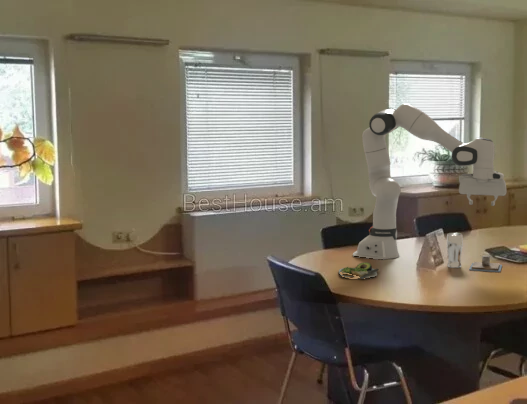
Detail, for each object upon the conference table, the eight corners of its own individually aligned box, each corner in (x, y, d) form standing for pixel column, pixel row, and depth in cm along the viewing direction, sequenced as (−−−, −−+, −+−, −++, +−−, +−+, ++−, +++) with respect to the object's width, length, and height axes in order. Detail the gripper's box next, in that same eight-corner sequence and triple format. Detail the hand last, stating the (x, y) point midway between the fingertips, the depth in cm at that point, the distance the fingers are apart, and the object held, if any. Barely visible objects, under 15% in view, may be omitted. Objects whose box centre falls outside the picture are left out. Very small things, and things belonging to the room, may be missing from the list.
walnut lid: (471, 268, 297) (471, 258, 297) (474, 263, 307) (474, 253, 307) (497, 270, 293) (498, 259, 292) (499, 265, 303) (499, 254, 302)
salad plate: (381, 282, 281) (381, 271, 281) (339, 282, 283) (338, 271, 282) (378, 271, 300) (378, 261, 300) (338, 271, 302) (338, 261, 301)
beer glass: (463, 268, 300) (463, 235, 298) (447, 268, 302) (447, 235, 300) (461, 265, 307) (462, 232, 305) (446, 264, 308) (446, 232, 307)
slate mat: (469, 270, 297) (469, 269, 297) (472, 264, 309) (472, 262, 308) (500, 272, 292) (500, 271, 292) (502, 265, 303) (502, 264, 303)
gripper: (458, 173, 300) (457, 204, 302) (506, 175, 292) (505, 207, 294) (460, 172, 306) (458, 202, 308) (507, 174, 298) (506, 205, 300)
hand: (481, 204), depth 301 cm, fingers open, 8 cm apart
